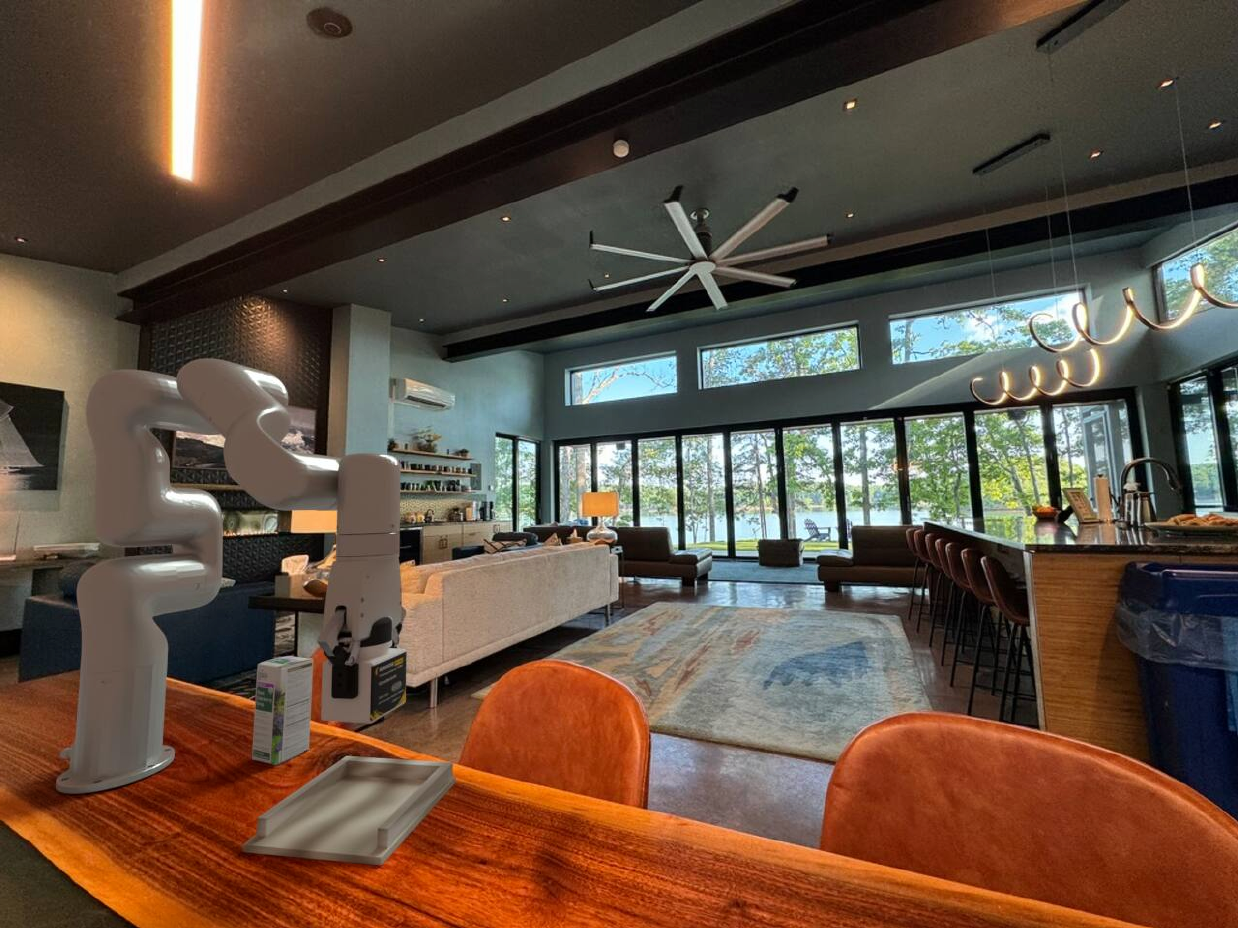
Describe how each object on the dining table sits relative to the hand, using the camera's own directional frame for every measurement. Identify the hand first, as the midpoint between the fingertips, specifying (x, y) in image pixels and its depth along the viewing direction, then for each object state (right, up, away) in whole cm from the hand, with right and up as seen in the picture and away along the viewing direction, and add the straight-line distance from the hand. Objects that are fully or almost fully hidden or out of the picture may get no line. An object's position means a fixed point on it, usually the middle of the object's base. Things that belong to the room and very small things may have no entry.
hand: (365, 685), depth 66 cm
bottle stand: (0, -16, -1) cm, 16 cm away
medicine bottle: (0, -3, 0) cm, 3 cm away
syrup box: (-21, -18, +15) cm, 31 cm away
